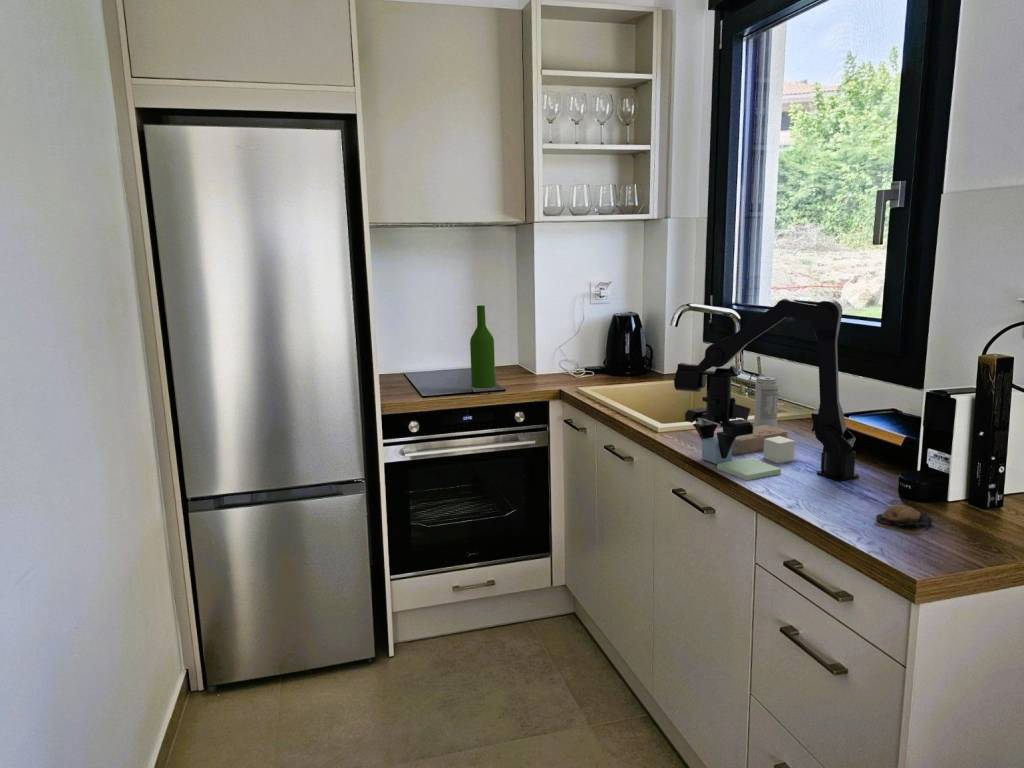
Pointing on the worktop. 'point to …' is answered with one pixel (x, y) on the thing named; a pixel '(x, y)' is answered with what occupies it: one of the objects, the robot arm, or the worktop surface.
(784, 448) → the cream block
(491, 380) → the wine bottle
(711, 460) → the blue block
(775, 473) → the green block
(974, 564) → the worktop surface
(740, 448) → the brick
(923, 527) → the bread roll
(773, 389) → the energy drink can
